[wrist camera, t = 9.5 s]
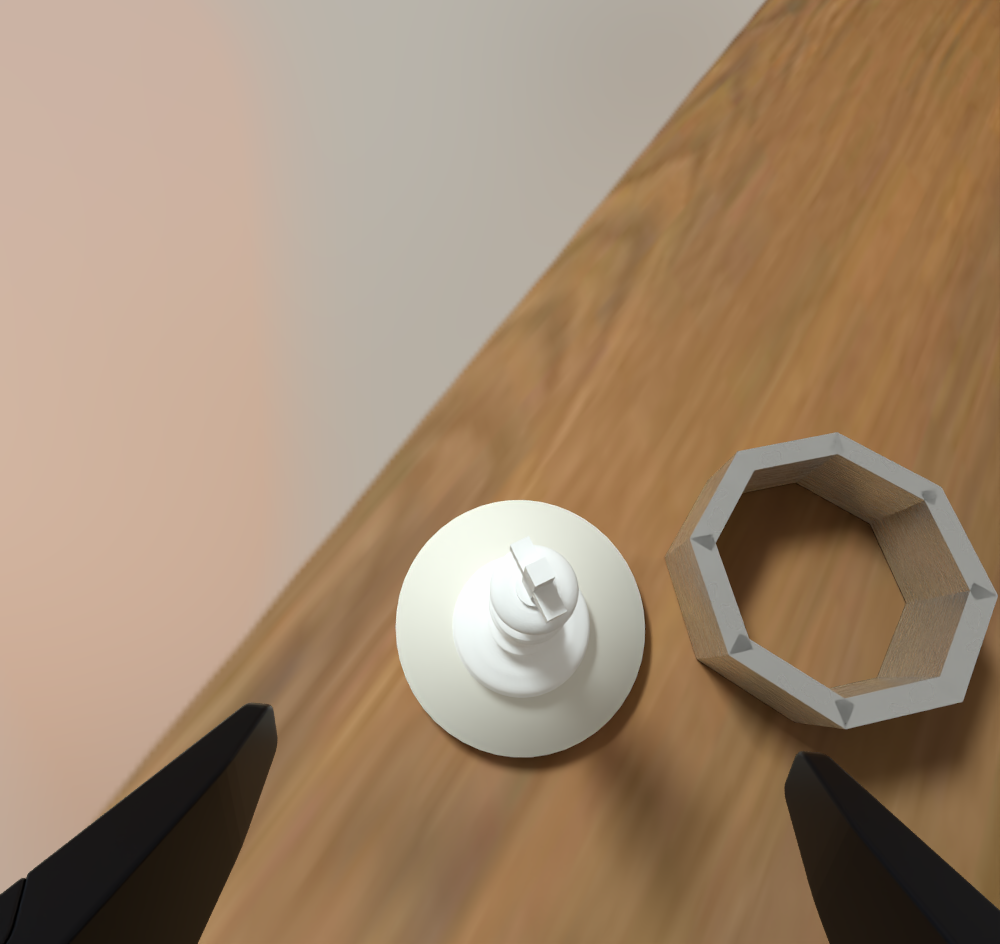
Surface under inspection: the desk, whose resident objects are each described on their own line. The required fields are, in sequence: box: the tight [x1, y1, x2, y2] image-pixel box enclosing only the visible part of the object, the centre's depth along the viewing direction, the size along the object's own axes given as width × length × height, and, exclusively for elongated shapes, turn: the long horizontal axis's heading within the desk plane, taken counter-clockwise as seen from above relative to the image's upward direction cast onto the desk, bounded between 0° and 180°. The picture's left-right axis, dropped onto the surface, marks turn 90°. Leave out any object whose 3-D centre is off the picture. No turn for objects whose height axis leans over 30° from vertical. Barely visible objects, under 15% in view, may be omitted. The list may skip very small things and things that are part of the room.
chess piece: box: [452, 536, 590, 698], centre depth 15 cm, size 5×5×10 cm
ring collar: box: [665, 432, 998, 729], centre depth 20 cm, size 9×9×3 cm
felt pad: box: [396, 500, 645, 757], centre depth 20 cm, size 9×9×1 cm
